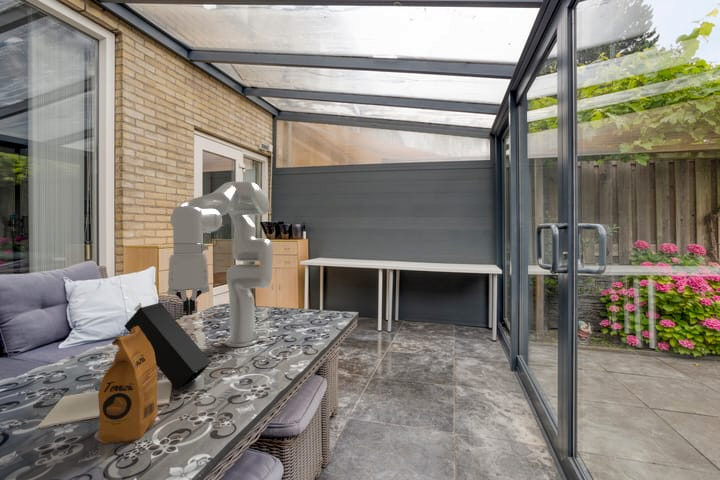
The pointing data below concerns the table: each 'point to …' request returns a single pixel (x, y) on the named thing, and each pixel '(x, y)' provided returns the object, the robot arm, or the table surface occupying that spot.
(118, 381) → the coffee package
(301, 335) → the table surface
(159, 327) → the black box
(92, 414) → the mat
